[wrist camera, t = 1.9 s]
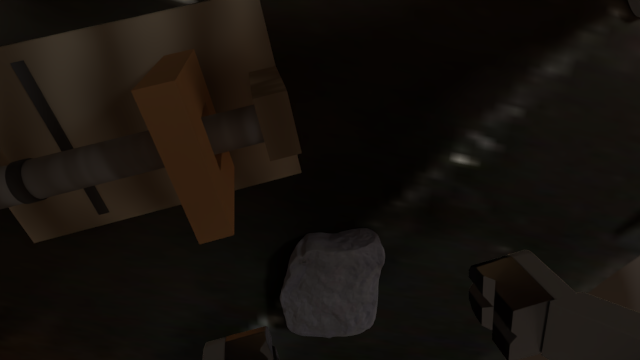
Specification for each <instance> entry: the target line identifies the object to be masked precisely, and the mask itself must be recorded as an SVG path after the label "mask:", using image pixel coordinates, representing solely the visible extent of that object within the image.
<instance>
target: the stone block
mask: <svg viewBox="0 0 640 360" xmlns="http://www.w3.org/2000/svg"><path fill="white" fill-rule="evenodd" d="M384 262H385V252H384V248H383V246H382V245H381V242H380V239H379V236H378V235H377V234H376V233H375V232H374V231H373V230H371V229H368V228H357V229H350V230H347V231H342V232H339V233H334V234H331V233H322V232H319V233H308V234H306V235H305V236H304V237H303V238H302V239H301V240H300V241H299V242H298V244H297V245H296V247H295V249H294V251H293V252H292V254H291V256H290V260H289V264H288V269H287V273H286V276H285V278H284V284H283V287H282V289H281V294H280V302H281V305H282V308H283V314H284V316H285V318H286V325H287V327H288V329H289V330H290V331H292V332H295V333H296V334H299V335H302V336H316V337H327V338H330V337H333V336H344V337H345V336H352V335H356V334H360V333H362V332H363V331H365V330H366V329H369V328H370V327H371V326H372V325H373V323H374V320H375V317H376V310H377V303H378V283H379V277H380V273H381V268H382V266H383V265H384Z"/></svg>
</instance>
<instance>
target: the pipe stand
mask: <svg viewBox="0 0 640 360" xmlns="http://www.w3.org/2000/svg"><path fill="white" fill-rule="evenodd" d="M191 49H194V50H195V53H196V56H197V59H198V62H199V65H200V68H201V71H202V74H203V77H204V79H205V82H206V85H207V88H208V91H209V94H210V97H211V100H212V103H213V106H214V109H215V112H216V114H212V115H208V116H204V117H201V119H202V122H203V125H204V128H205V130H206V133H207V136H208V139H209V141H210V144H211V147H212V150H213V152H214V155H216V154H220V153H224V152H228V151H229V153H230V155H231V158H232V161H233V164H234V190H238V189H242V188H246V187H249V186H253V185H257V184H261V183H265V182H268V181H272V180H276V179H280V178H284V177H287V176H291V175H295V174H299V173H302V172H301V168H300V164H299V160H298V156H297V154H301V153H302V152H301V148H300V144H299V139H298V135H297V131H296V127H295V122H294V118H293V114H292V110H291V106H290V101H289V97H288V93H287V90H286V87H285V85H284V83H283V81H282V79H281V77H280V74H279V72H278V70H277V68H276V65H275V61H274V57H273V53H272V49H271V45H270V41H269V37H268V33H267V29H266V24H265V20H264V16H263V12H262V8H261V4H260V0H208V1H203V2H199V3H194V4H190V5H185V6H180V7H176V8H171V9H167V10H162V11H158V12H153V13H149V14H144V15H140V16H135V17H131V18H126V19H122V20H117V21H113V22H108V23H104V24H99V25H95V26H90V27H86V28H81V29H77V30H72V31H68V32H63V33H59V34H54V35H50V36H45V37H41V38H36V39H32V40H27V41H23V42H18V43H14V44H9V45H5V46H0V209H4V208H9V209H10V210H11V212H12V213H13V215H14V216H15V217H16V219H17V220H18V221H19V223H20V224H21V226H22V227H23V228H24V230H25V231H26V233H27V234H28V235H29V237H30V238H31V239H32V241H33V242H34V243H37V242H40V241H44V240H48V239H52V238H56V237H59V236H63V235H67V234H71V233H75V232H78V231H82V230H86V229H90V228H94V227H97V226H101V225H105V224H109V223H113V222H116V221H120V220H124V219H128V218H132V217H135V216H139V215H143V214H147V213H151V212H154V211H158V210H162V209H166V208H170V207H173V206H177V205H181V202H180V200H179V197H178V195H177V193H176V191H175V188H174V186H173V184H172V182H171V180H170V177H169V175H168V173H167V171H166V168H165V166H164V164H163V162H162V159H161V157H160V155H159V153H158V150H157V148H156V146H155V144H154V141H153V139H152V137H151V135H150V132H149V130H148V128H147V126H146V123H145V121H144V119H143V117H142V114H141V112H140V110H139V108H138V105H137V103H136V101H135V99H134V97H133V94H132V92H131V90H132V89H133V88H134V87H135V86H136V85H137V84H138V83H139V82H140V81H141V80H142V78H143V77H144V76H145V75H146V74H147V73H148V72H149V71H150V70H151V69H152V68H153V67H154V66H155V65H156V63H157V62H158V61H159V60H160V59H161V58H162V57H163V56H165V55H169V54H173V53H178V52H182V51H186V50H191Z"/></svg>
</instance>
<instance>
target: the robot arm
mask: <svg viewBox="0 0 640 360" xmlns="http://www.w3.org/2000/svg"><path fill="white" fill-rule="evenodd" d="M628 3H629V5H630V8H631V10H632V11H633V13H634V14H635V15H636V16H637V17H640V0H628ZM469 278H470V279H471V281H472V282H473V284H472V285H471V287H470V288H469V301H470V304H471V307H472V310H473V312H474V314H475V316H476V318H477V319H478V320H479V322H480V323H481V325H483V326H485V327H487V328H489V329H491V330H492V340H493V342H494V343H495V344H496V346H497V347H498V349H499V350H500V351H501V353H502V354H503V356H504V357H505V358H506V360H518V359H522V358H525V357H529V356H532V355H536V354H540V353H542V354H541V355H542V356H544V357H546V358H547V359H549V360H640V313H639V312H636V311H633V310H630V309H628V308H625V307H622V306H620V305H617V304H614V303H612V302H609V301H606V300H604V299H601V298H598V297H595V296H593V295H590V294H587V293H585V292H579V293H576V292H575V291H574V290H572V289H571V288H570V287H569V286H568V285H567V284H566V283H565V282H564V281H563V280H561V279H560V278H559V277H558V276H557V275H556V274H555V273H554V272H553V271H552V270H550V269H549V268H548V267H547V266H546V265H545V264H544V263H543V262H542V261H541V260H539V259H538V258H537V257H536V256H535V255H534V254H533V253H532V252H531V251H528V250H522V251H519V252H516V253H512V254H509V255H507V256H501V257H498V258H495V259H492V260H488V261H485V262H482V263H479V264H475V265H472V266H471V267H470V269H469ZM203 360H279V356H278V353H277V350H276V347H275V346H272V341H271V334H270V332H269V330H268V327H267V326H265V327H261V328H257V329H254V330H250V331H246V332H242V333H238V334H235V335H231V336H227V337H224V338H221V339H217V340H213V341H210V342H206V344H205V347H204V349H203Z"/></svg>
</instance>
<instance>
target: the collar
mask: <svg viewBox="0 0 640 360" xmlns="http://www.w3.org/2000/svg"><path fill="white" fill-rule="evenodd" d="M131 92H132V94H133V97H134V99H135V101H136V103H137V105H138V108H139V110H140V112H141V114H142V117H143V119H144V121H145V123H146V126H147V128H148V130H149V132H150V135H151V137H152V139H153V141H154V144H155V146H156V148H157V150H158V153H159V155H160V157H161V159H162V162H163V164H164V166H165V168H166V171H167V173H168V175H169V177H170V180H171V182H172V184H173V186H174V188H175V191H176V193H177V195H178V197H179V200H180V202H181V204H182V206H183V209H184V211H185V213H186V215H187V218H188V220H189V222H190V224H191V227H192V229H193V231H194V233H195V236H196V238H197V240H198V242H199V244H203V243H207V242H210V241H214V240H218V239H221V238H225V237H229V236H232V235H234V164H233V161H232V158H231V155H230V153H229V151H228V152H224V153H220V154H216V155H214V152H213V150H212V147H211V144H210V141H209V139H208V136H207V133H206V130H205V128H204V125H203V122H202V119H201V117H204V116H208V115H212V114H216V112H215V109H214V106H213V103H212V100H211V97H210V94H209V91H208V88H207V85H206V82H205V79H204V77H203V74H202V71H201V68H200V65H199V62H198V59H197V56H196V53H195V50H194V49H191V50H186V51H182V52H178V53H173V54H169V55H165V56H163V57H162V58H161V59H160V60H159V61H158V62H157V63H156V65H155V66H154V67H153V68H152V69H151V70H150V71H149V72H148V73H147V74H146V75H145V76H144V77H143V78H142V80H141V81H140V82H139V83H138V84H137V85H136V86H135V87H134V88H133V89H132V90H131Z"/></svg>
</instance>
